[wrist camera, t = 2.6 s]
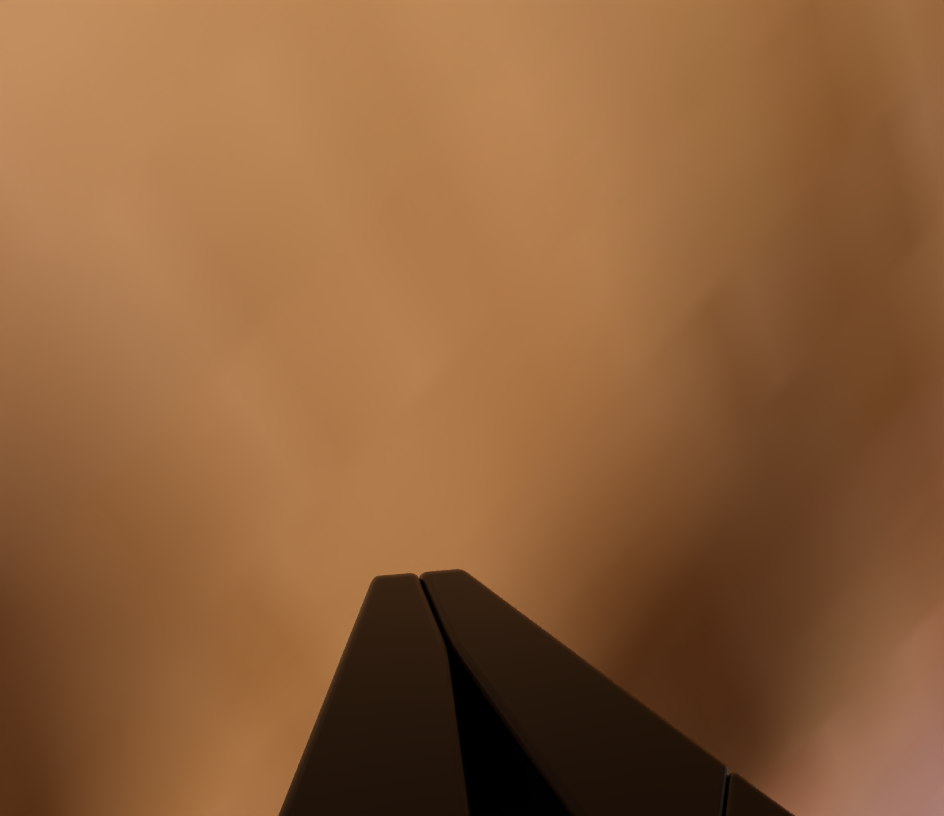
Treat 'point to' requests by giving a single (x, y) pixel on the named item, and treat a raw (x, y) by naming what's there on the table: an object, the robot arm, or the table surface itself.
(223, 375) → the table surface
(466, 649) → the robot arm
